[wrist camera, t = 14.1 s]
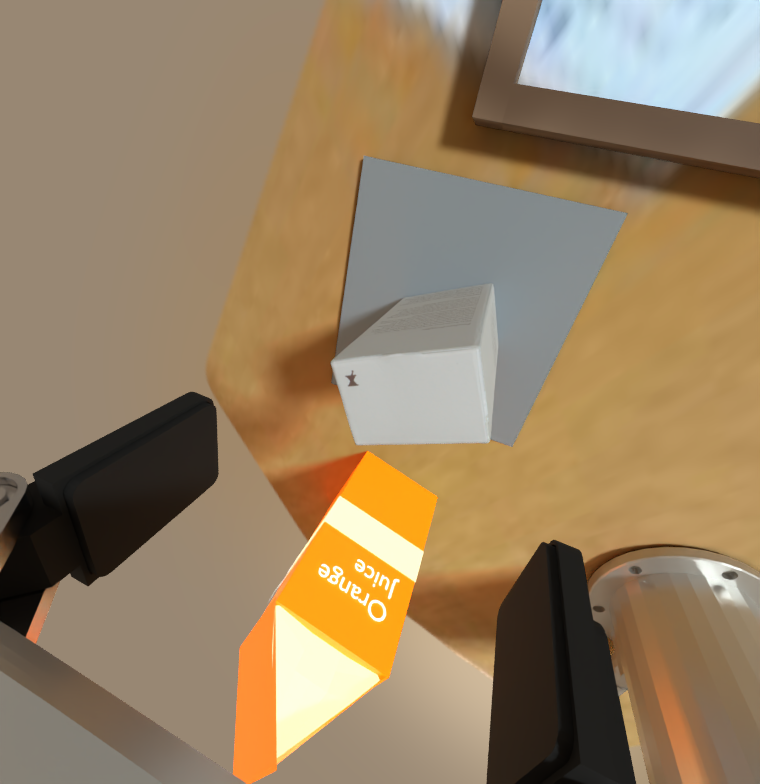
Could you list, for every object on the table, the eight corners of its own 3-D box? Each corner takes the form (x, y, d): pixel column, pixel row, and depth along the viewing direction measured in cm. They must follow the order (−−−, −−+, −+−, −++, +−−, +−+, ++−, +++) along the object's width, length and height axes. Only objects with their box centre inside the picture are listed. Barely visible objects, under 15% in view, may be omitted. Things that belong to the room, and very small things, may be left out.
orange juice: (439, 497, 32) (353, 823, 15) (393, 545, 37) (289, 834, 20) (365, 449, 32) (200, 715, 15) (329, 503, 37) (173, 751, 20)
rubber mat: (512, 443, 27) (512, 446, 27) (333, 381, 30) (331, 383, 30) (625, 213, 19) (627, 213, 19) (366, 156, 22) (364, 155, 22)
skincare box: (414, 355, 26) (350, 447, 16) (403, 296, 24) (324, 358, 14) (502, 345, 24) (492, 448, 14) (496, 280, 22) (479, 341, 12)
